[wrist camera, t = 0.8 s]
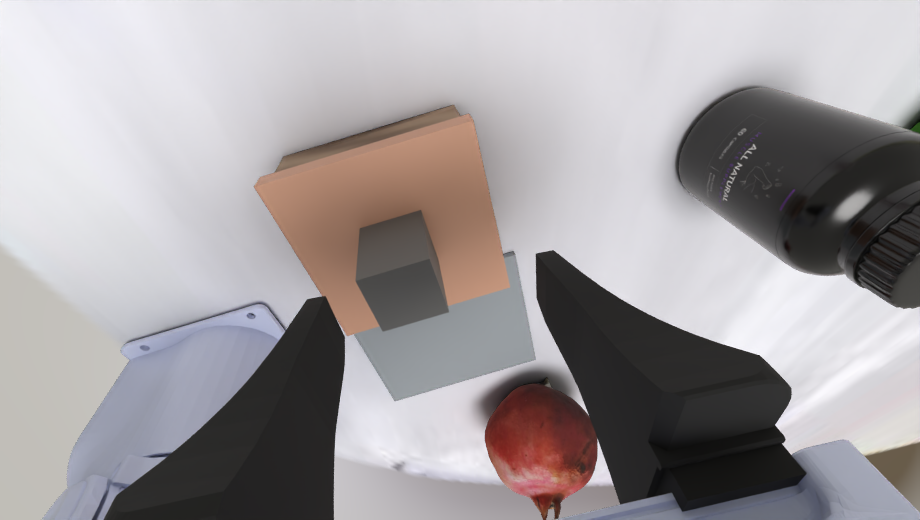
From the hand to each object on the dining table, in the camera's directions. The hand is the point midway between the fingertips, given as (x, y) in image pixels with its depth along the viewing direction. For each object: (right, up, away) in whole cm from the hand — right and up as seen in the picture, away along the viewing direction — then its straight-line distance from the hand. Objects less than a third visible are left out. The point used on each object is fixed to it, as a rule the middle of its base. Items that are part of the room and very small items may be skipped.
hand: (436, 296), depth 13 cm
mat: (0, -4, +16) cm, 16 cm away
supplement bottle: (+17, +8, +10) cm, 22 cm away
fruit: (+7, -11, +22) cm, 26 cm away
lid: (-2, +3, +7) cm, 7 cm away
